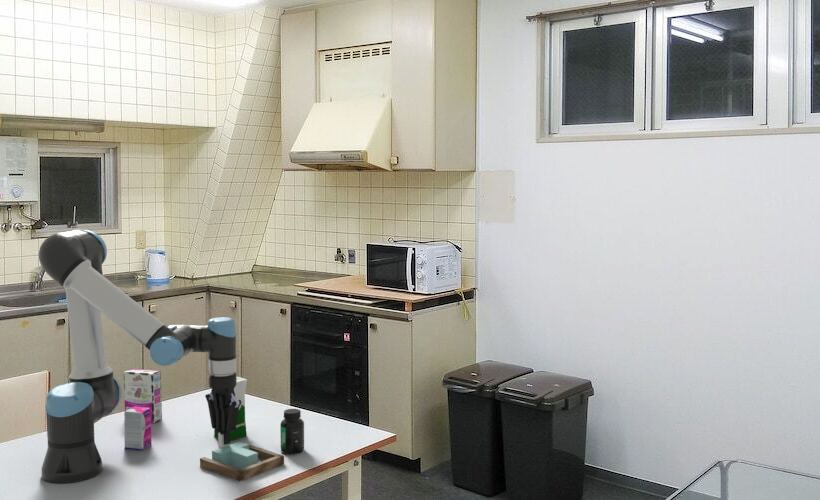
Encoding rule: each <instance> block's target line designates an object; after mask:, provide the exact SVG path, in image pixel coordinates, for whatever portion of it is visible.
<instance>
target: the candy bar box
mask: <svg viewBox="0 0 820 500" xmlns="http://www.w3.org/2000/svg"><path fill="white" fill-rule="evenodd" d="M161 372H162V371H161V370H154V369H153V370H152V369H139V368H131V369H127V370H126V371H123V392H124V412H125V411H126V410H128V409H130V408H132V407H134V406H137V407H148V408H151V424H155V423H158V422H159V421H162V420H163V413H162V412H163V409H162V376H161Z"/></svg>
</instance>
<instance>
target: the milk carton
mask: <svg viewBox="0 0 820 500" xmlns="http://www.w3.org/2000/svg"><path fill="white" fill-rule="evenodd" d="M236 379H237V384H236V386H235V388H234V392H235V398H236V399H237V400H241V405H240V407H239V411H238V418H237V424H236V430H235V431H233V432H230V442H233V441H235V440H238V439H241V438H244V437H247V434H248V433H247V425H246V424H247V423H246V387H247V382H248V378H247V379H246V378H243V377H241V376H236ZM215 424H216V423H215ZM213 430H214V434H213V437H214V438H216V439H218V438H217V431H216V429H215V428H214V429H213Z"/></svg>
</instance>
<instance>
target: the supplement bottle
mask: <svg viewBox="0 0 820 500" xmlns="http://www.w3.org/2000/svg"><path fill="white" fill-rule="evenodd" d="M301 413H302V412H301V410H300V409H297V408H288V409H285V410H283V419H282V420H281V422H280V425H279V426H280V429H279V431H280V452H281V453H282V454H283V455H292V456H293V455H298V454H301V453H303V452H304V451H305V422H304V420H303V419H302V415H301Z"/></svg>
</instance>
